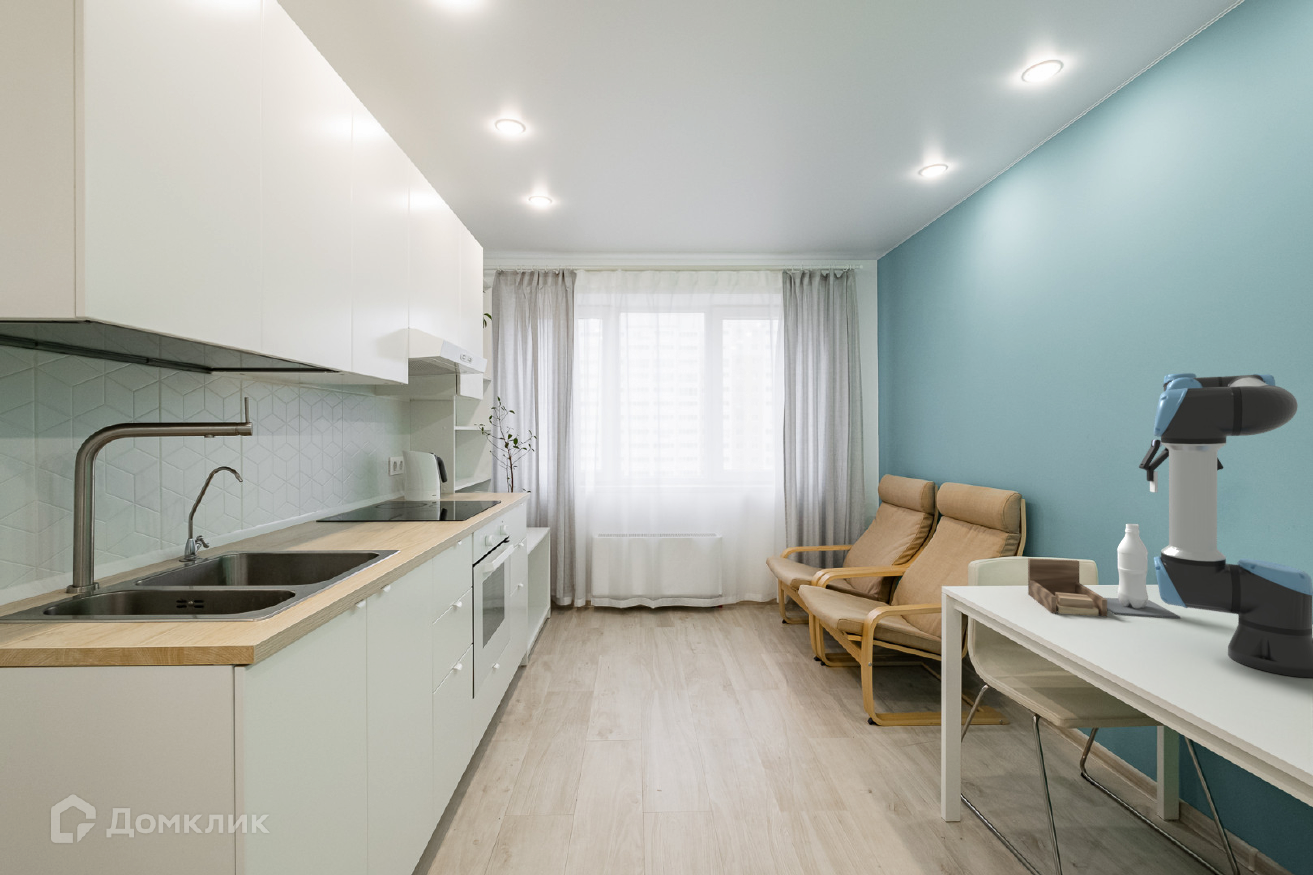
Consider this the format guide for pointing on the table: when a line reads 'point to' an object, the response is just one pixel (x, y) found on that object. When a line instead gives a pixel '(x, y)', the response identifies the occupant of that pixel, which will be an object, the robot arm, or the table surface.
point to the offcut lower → (1076, 610)
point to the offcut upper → (1074, 600)
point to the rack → (1058, 583)
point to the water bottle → (1132, 569)
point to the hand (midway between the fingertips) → (1180, 492)
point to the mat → (1139, 609)
